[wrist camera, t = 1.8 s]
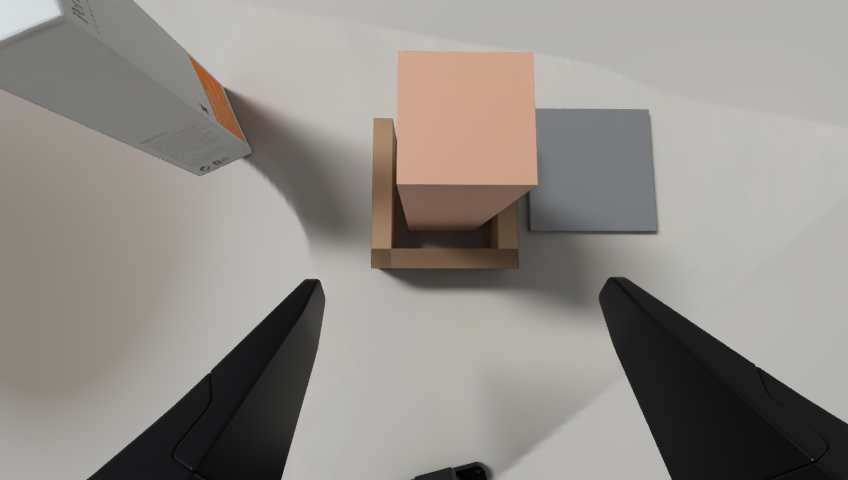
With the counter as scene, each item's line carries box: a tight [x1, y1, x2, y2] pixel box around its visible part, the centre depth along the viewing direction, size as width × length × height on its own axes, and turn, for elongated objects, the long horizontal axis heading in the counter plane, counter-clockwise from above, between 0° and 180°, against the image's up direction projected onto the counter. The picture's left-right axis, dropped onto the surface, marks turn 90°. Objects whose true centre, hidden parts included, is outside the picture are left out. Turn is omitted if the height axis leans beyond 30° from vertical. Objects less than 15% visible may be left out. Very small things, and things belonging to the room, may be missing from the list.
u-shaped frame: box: [371, 118, 519, 269], centre depth 21 cm, size 10×9×3 cm
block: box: [397, 51, 538, 231], centre depth 16 cm, size 5×5×12 cm
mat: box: [528, 109, 657, 231], centre depth 22 cm, size 9×9×1 cm
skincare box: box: [0, 0, 252, 176], centre depth 16 cm, size 6×4×12 cm
